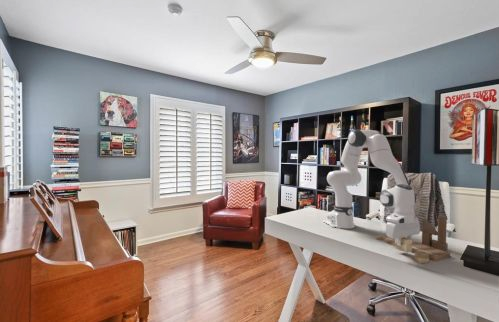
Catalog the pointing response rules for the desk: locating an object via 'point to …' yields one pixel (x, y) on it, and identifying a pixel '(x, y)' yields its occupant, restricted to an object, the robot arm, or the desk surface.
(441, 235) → the brown wooden upright frame
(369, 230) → the desk surface
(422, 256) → the stop block
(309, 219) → the desk surface
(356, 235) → the desk surface
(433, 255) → the board
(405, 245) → the gauge block
